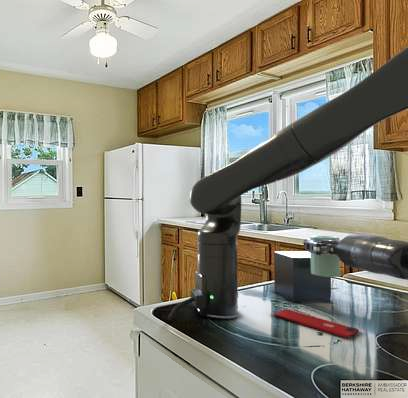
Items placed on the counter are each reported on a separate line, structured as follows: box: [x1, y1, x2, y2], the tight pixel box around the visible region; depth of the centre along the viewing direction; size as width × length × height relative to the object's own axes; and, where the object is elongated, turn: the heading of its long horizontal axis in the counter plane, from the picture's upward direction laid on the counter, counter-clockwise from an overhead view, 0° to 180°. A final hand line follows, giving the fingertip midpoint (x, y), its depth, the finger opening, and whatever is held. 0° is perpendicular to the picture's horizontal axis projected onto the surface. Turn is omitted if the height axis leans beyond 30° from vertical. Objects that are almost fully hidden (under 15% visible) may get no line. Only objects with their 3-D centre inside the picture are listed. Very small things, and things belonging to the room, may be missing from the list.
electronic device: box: [273, 308, 360, 339], centre depth 71 cm, size 6×1×15 cm
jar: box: [309, 235, 341, 278], centre depth 81 cm, size 6×6×10 cm
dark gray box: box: [273, 251, 332, 303], centre depth 91 cm, size 12×10×12 cm
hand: (318, 243), depth 84 cm, fingers closed on jar, 6 cm apart
